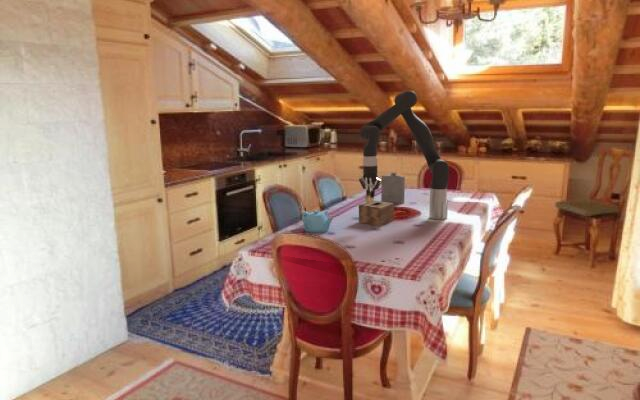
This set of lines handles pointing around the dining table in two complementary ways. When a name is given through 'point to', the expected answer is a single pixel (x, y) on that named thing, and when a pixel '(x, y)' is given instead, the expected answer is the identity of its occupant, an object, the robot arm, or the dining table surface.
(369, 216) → the box
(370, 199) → the wooden block
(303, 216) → the teapot
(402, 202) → the hip flask
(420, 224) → the dining table surface
